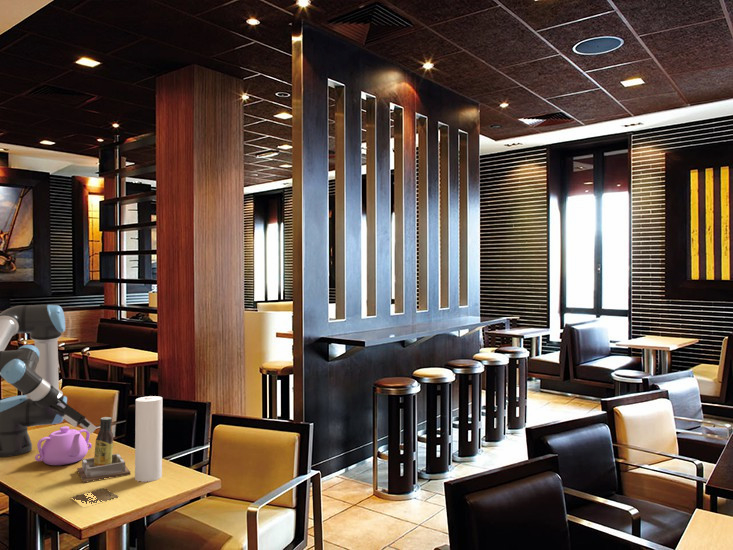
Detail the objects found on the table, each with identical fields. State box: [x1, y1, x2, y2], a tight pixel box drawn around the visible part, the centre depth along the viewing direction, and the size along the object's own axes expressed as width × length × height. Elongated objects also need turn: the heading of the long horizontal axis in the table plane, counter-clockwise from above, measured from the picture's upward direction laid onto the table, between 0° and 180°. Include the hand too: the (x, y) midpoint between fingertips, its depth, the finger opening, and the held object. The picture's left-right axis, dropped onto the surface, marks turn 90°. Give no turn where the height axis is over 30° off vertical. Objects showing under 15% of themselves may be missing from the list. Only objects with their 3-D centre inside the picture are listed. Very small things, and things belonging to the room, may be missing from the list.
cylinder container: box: [134, 395, 163, 483], centre depth 208 cm, size 9×9×30 cm
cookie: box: [70, 487, 120, 504], centre depth 188 cm, size 12×12×1 cm
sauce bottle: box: [93, 416, 114, 467], centre depth 213 cm, size 6×6×20 cm
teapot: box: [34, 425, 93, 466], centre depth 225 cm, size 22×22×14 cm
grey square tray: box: [76, 453, 131, 483], centre depth 213 cm, size 16×16×4 cm
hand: (85, 427), depth 207 cm, fingers open, 13 cm apart
